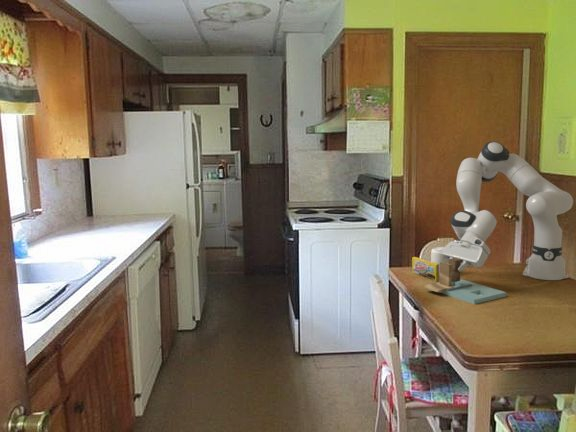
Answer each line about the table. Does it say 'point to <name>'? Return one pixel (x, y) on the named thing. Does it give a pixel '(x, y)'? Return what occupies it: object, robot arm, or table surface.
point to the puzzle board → (472, 292)
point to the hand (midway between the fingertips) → (453, 269)
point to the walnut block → (455, 273)
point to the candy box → (425, 269)
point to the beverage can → (438, 256)
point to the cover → (442, 279)
